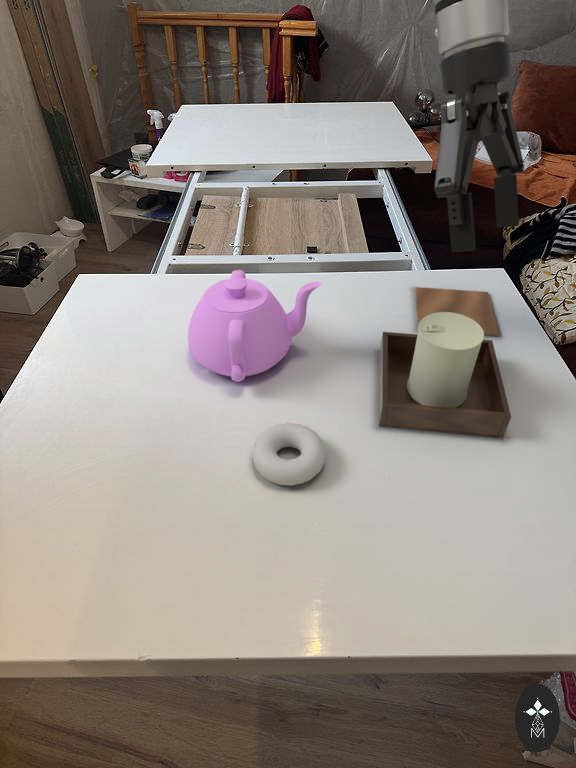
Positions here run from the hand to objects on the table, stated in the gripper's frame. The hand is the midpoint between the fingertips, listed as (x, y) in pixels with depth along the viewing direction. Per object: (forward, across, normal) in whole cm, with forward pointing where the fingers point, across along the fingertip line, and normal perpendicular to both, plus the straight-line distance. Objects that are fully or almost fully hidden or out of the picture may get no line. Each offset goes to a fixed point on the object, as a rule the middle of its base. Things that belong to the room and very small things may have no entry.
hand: (487, 238), depth 68 cm
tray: (+23, 0, -10) cm, 25 cm away
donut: (+23, +25, -19) cm, 39 cm away
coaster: (+17, -22, -17) cm, 33 cm away
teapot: (+14, +11, -37) cm, 41 cm away
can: (+23, 0, -10) cm, 25 cm away
